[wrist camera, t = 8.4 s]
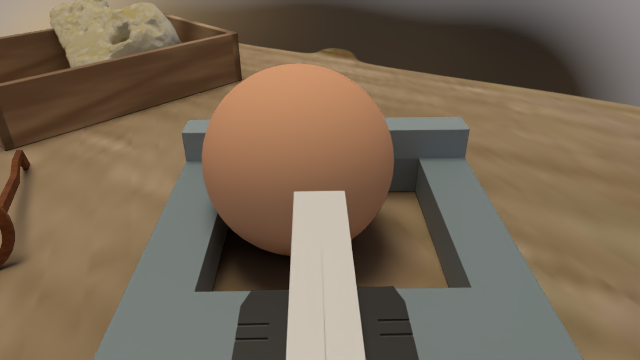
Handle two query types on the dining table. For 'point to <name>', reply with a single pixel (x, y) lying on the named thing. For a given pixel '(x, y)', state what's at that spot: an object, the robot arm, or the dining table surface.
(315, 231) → the robot arm
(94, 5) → the beige irregular lump
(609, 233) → the dining table surface
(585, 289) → the dining table surface
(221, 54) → the wooden tray
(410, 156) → the grey rectangular frame
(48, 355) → the dining table surface
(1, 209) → the glasses
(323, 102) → the ball
